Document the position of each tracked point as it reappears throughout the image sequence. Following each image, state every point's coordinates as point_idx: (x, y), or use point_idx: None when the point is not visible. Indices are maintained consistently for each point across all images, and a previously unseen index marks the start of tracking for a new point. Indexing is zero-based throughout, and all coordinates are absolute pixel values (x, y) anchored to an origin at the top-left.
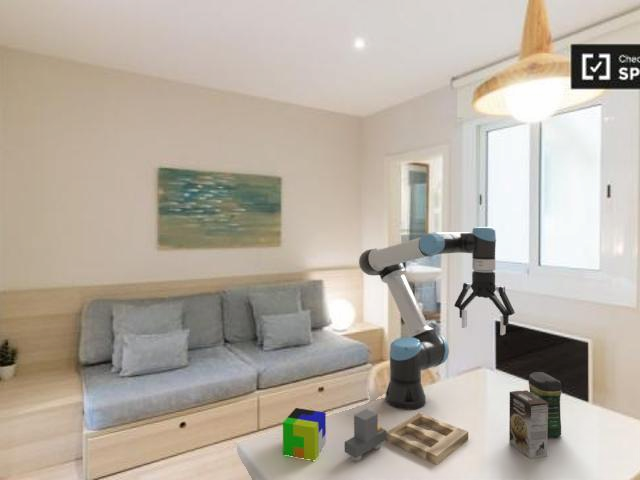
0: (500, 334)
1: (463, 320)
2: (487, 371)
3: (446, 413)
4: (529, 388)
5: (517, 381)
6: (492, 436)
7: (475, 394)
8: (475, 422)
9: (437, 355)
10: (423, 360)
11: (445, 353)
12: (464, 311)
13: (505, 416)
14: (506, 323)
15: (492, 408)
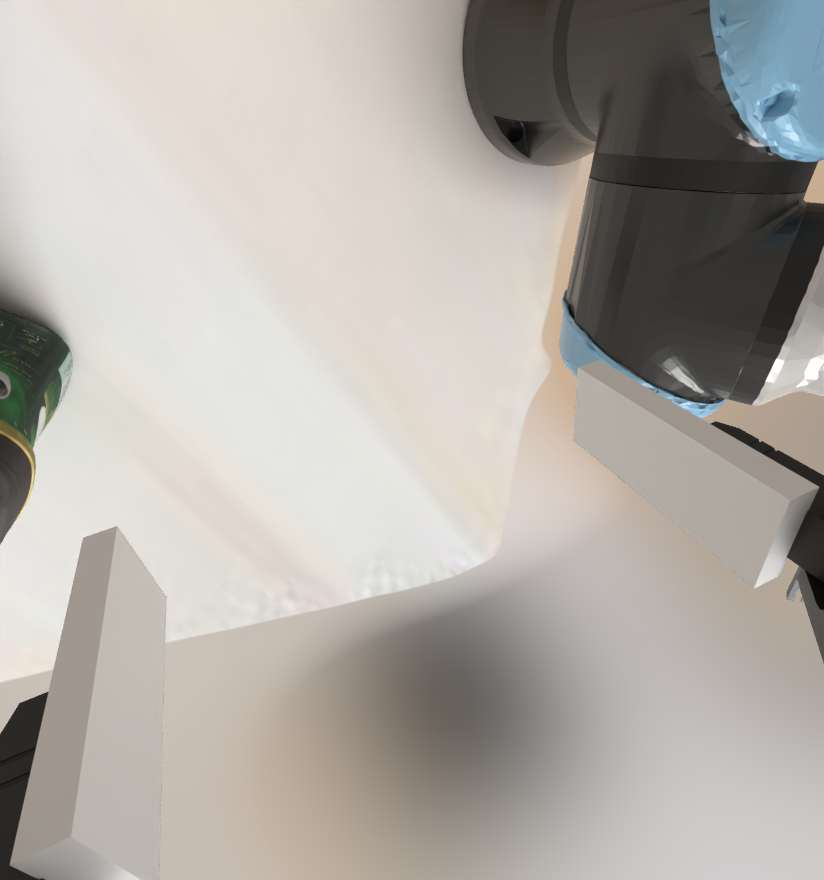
0: (113, 532)
1: (650, 408)
2: (474, 556)
3: (352, 108)
4: (4, 415)
5: (372, 582)
6: (39, 69)
7: (395, 388)
8: (210, 147)
9: (601, 265)
10: (634, 101)
11: (582, 343)
12: (758, 503)
13: (190, 329)
14: (3, 743)
15: (274, 345)
